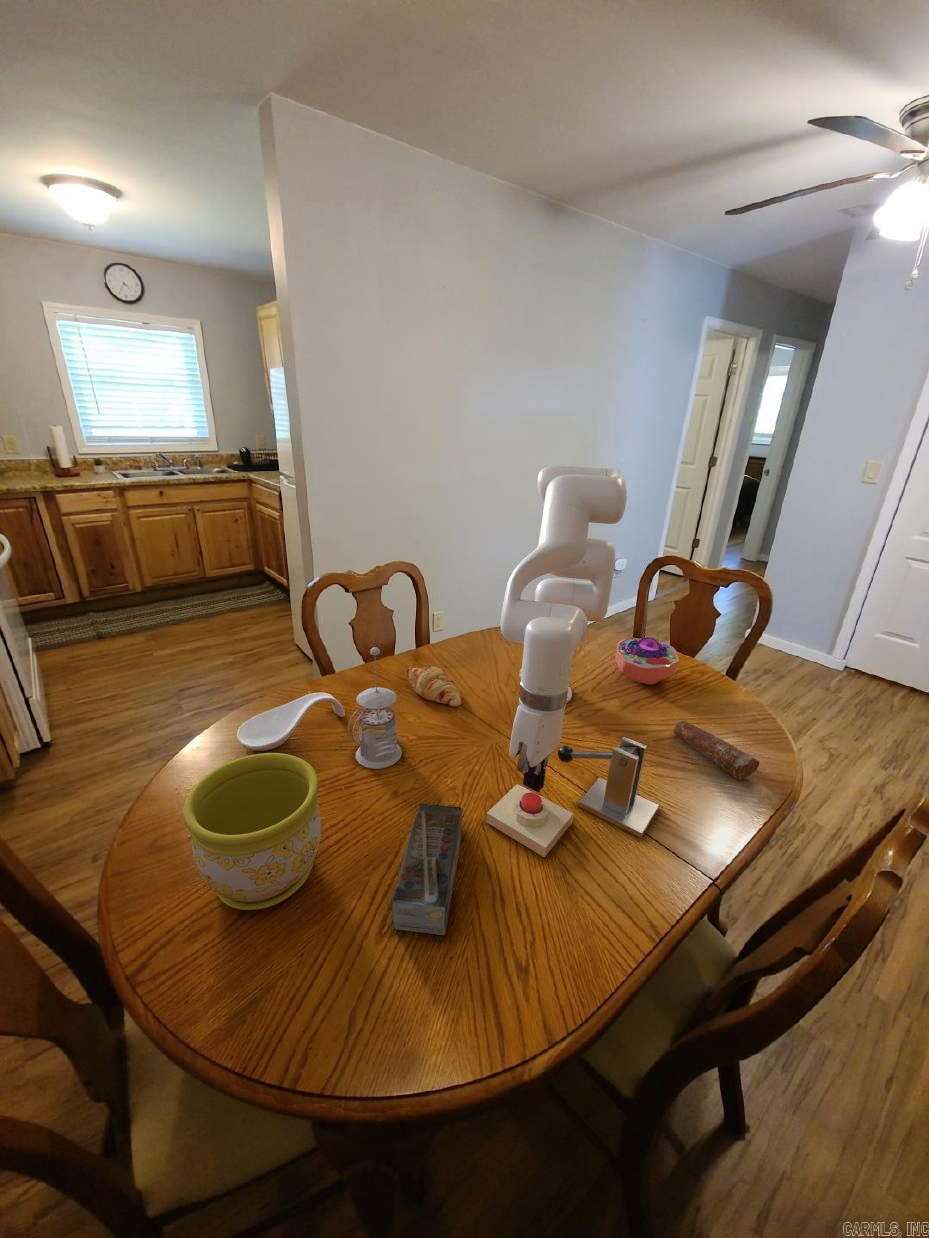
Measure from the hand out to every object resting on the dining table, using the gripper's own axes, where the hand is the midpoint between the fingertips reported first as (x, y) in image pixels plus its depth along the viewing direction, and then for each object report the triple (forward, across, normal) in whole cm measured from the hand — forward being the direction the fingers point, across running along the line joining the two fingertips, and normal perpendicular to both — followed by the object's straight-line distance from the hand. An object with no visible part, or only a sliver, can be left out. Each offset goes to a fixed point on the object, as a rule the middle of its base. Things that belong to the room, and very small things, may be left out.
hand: (533, 786), depth 87 cm
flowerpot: (+9, +36, -26) cm, 45 cm away
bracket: (+8, -14, +11) cm, 20 cm away
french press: (+8, +5, -35) cm, 37 cm away
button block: (+8, 0, 0) cm, 9 cm away
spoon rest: (+8, +11, -55) cm, 57 cm away
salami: (+8, -42, +20) cm, 47 cm away
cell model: (+8, -68, -4) cm, 69 cm away
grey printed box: (+9, +20, -6) cm, 22 cm away
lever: (+1, -14, +6) cm, 15 cm away
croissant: (+8, -22, -43) cm, 49 cm away
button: (+5, 0, 0) cm, 5 cm away
